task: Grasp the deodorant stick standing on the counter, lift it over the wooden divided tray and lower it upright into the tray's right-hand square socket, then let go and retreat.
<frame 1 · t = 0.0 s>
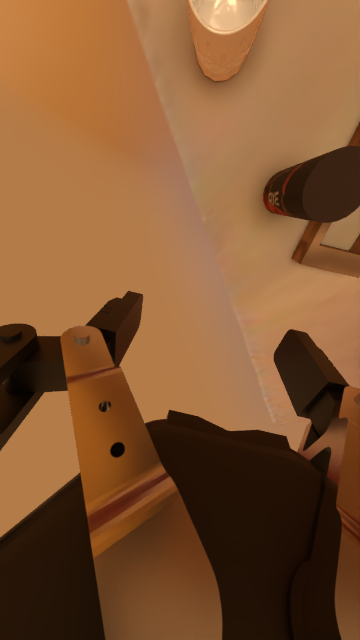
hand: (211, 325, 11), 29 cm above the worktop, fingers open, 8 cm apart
deodorant: (282, 192, 31), on the worktop
white cup: (222, 42, 24), on the worktop
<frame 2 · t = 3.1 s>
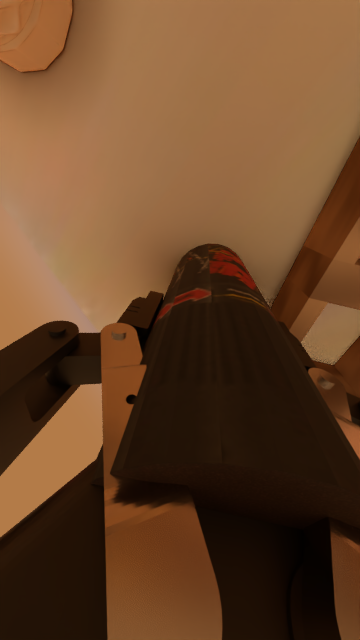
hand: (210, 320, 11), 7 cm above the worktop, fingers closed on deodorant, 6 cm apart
deodorant: (209, 279, 17), on the worktop, touching gripper
wooden divided tray: (356, 276, 15), on the worktop
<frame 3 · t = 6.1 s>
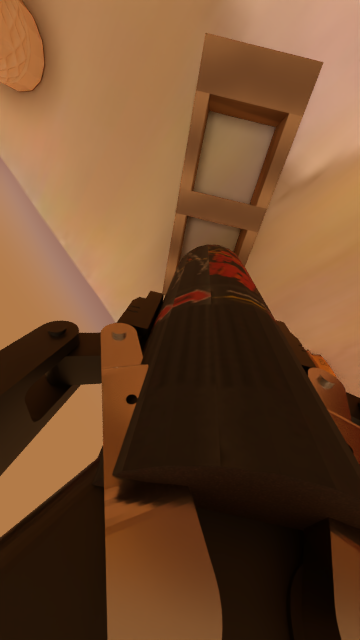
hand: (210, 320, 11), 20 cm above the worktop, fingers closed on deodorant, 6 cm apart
deodorant: (209, 280, 17), point 14 cm above the worktop, touching gripper
wooden divided tray: (218, 209, 26), on the worktop
white cup: (14, 46, 20), on the worktop
when the fingers open (7 cm above the worktop, at t = 8.9 s): deodorant stays where it is, resting in wooden divided tray.
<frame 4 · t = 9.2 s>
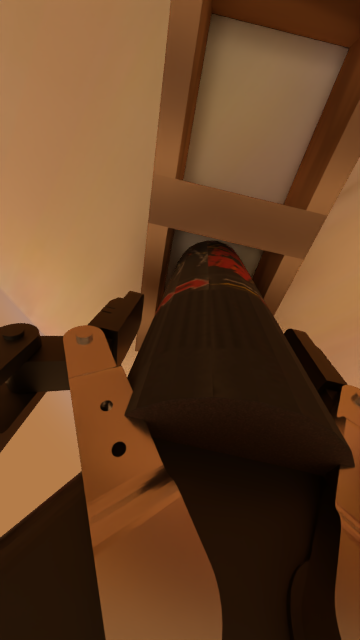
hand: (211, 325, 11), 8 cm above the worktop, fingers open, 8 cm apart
deodorant: (208, 275, 18), resting in wooden divided tray
wooden divided tray: (226, 214, 15), on the worktop
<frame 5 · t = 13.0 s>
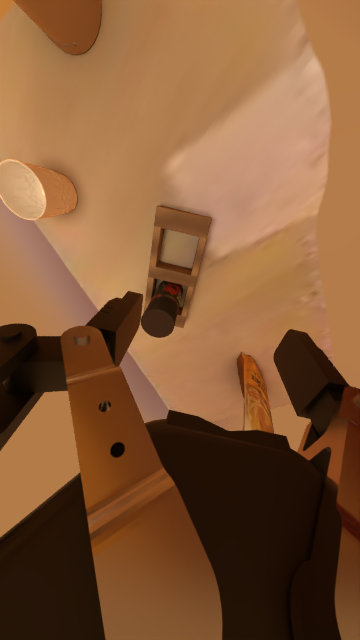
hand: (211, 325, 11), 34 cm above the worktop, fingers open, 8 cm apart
deodorant: (170, 290, 47), resting in wooden divided tray
wooden divided tray: (174, 270, 44), on the worktop
white cup: (61, 193, 39), on the worktop
pancake mix bag: (247, 371, 58), on the worktop
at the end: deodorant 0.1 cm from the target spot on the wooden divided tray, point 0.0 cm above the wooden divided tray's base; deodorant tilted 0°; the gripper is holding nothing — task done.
